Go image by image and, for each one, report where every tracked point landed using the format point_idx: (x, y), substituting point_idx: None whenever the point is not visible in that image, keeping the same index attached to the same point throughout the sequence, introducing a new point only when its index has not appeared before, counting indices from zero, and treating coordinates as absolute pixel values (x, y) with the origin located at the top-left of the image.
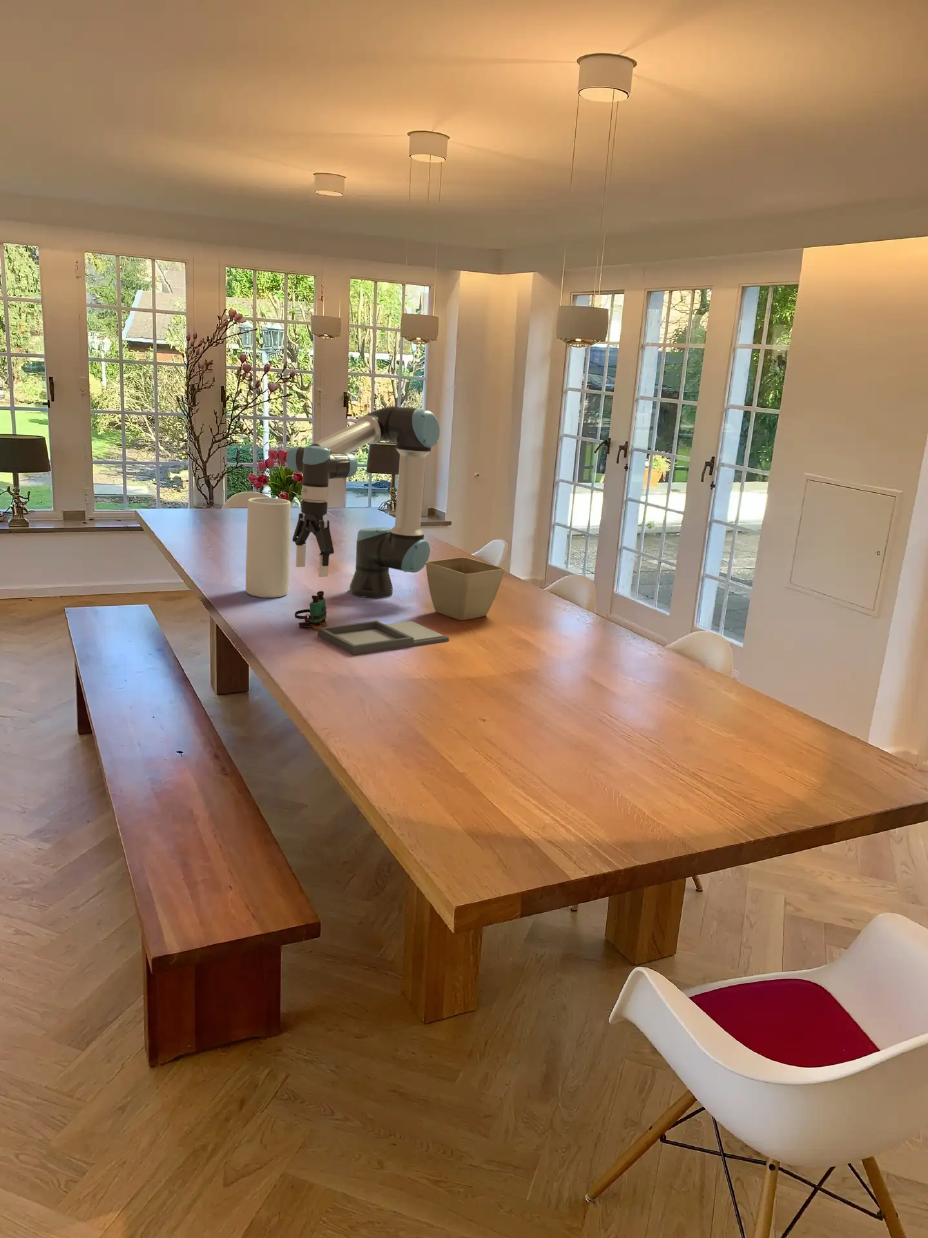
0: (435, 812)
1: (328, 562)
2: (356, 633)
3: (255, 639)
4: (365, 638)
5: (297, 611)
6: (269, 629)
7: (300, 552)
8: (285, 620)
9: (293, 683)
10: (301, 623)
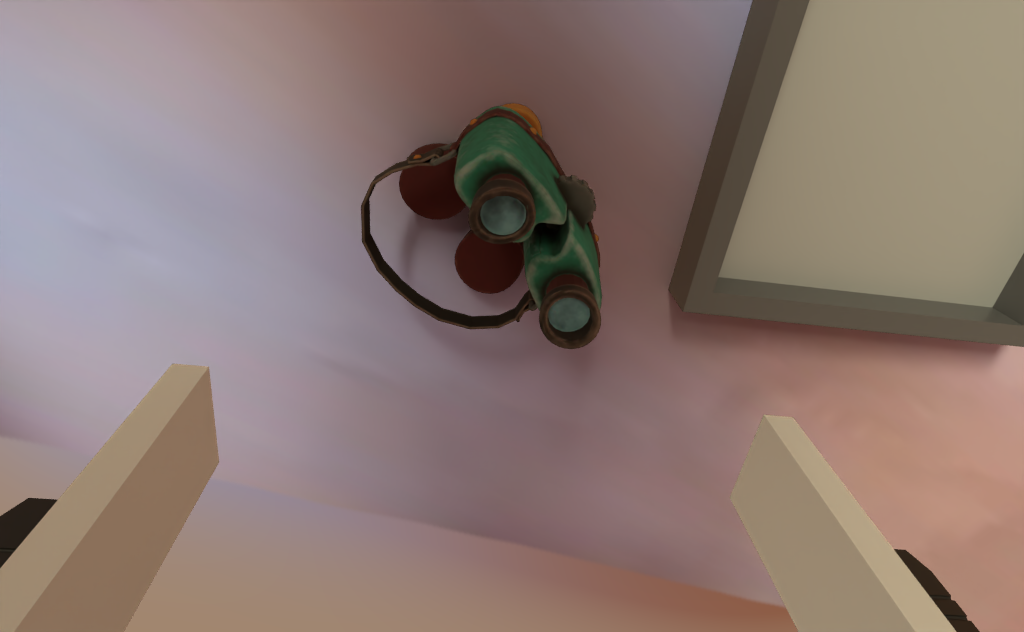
0: None
1: (949, 599)
2: (804, 75)
3: (535, 521)
4: (911, 98)
5: (376, 263)
6: (433, 414)
7: (111, 600)
8: (312, 263)
9: (977, 619)
10: (499, 291)
